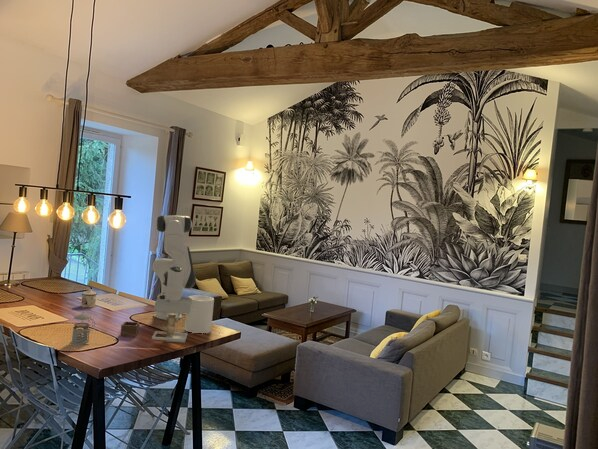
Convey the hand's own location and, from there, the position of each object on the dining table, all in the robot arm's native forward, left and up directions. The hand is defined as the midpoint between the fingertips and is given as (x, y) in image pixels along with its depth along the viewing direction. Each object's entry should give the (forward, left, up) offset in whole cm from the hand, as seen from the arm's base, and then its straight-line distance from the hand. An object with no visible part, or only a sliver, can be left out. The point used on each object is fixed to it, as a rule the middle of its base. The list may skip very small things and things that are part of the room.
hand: (171, 320), depth 248 cm
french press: (+16, -42, -11) cm, 46 cm away
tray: (0, 0, -10) cm, 10 cm away
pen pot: (0, -22, -10) cm, 24 cm away
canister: (-20, +14, -11) cm, 27 cm away
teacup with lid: (-61, -62, -11) cm, 88 cm away
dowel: (0, 0, -9) cm, 9 cm away
